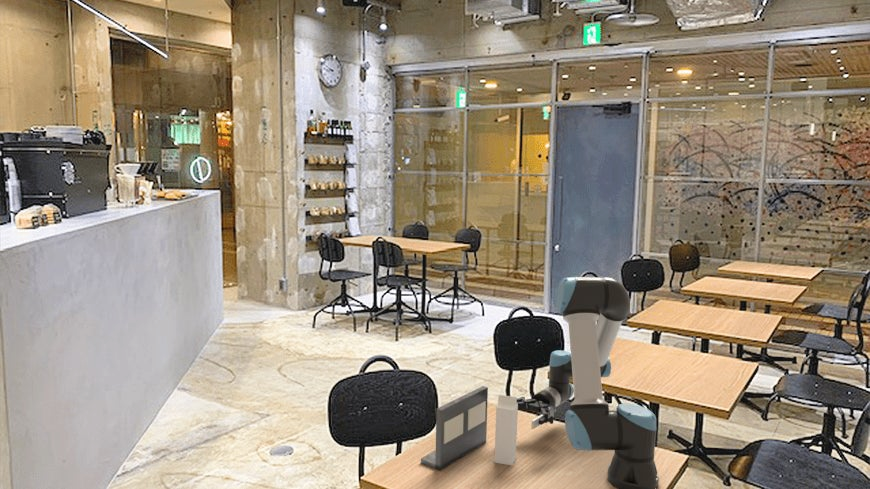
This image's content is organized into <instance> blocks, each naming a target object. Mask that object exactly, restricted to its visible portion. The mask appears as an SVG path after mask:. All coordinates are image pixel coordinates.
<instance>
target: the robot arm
mask: <svg viewBox="0 0 870 489" xmlns="http://www.w3.org/2000/svg"><path fill="white" fill-rule="evenodd" d="M555 303H556V306H555V307H556V310H557V312H558V313H559V314H562V318H563V320H564V321H565V322H566V323H567V324H568V332H569V333H568V334H569V344H570V346H569V347H570V352H569V351H566V350H561V349H560V350H554V351H552V352H551V353H550V355H549V356H550V357H549V363H548V364H549V369H548V370H549V374H548V375H549V378H548V386H547V387H545V388H544V389H542V390H540V391H539V392H537V393H535V394H534V395H533V396H532V398H530V399H526V398H525V396H521V397H516V398H517V403H518V411H524V412H528V411H529V412H530V411H531V412H534V413H538V414H539V415H538V416H537V417H535V418H533V419H532V420H531V430H534V429H536V428H538V427H539V426H542V425H543V424H548V423H549V424H551V425H553V424H554V419H555V418H554V417H555V415H556V414H557V407H559V406H561V405H562V404H564V403H566V402H568V401H569V400H570V399H571V398H572V397H573V396H574V397H573V401H572V402H571V403H570V405H569V409H568V410H567V411H565V414H564V426H565V431H566V435H567V438H568V441H569V443H570V444H571V446H572V448H574V449H575V450H577V451H587V452H592V451H614V453H613V456H612V458H611V462H610V464H609V465H608V467H607V473H606V474H607V475H606V477H607V480H608V482H609V483H611V484H612V486H614V487H616V488H618V489H655V488H656V487H657V486H658V487H659V483H660V482H659V480H660V477H659V474H658V469H657V466H656V463H655V450H656V449H655V448H656V437H657V417H656V415H655V414H654V413H653V411H651V410H650V409H649V408H646V407H644V406H643V405H642V406H641V405H638V404H635V403H627V402H621V403H619V404H617V406H616V410H610V408H609V407H610V406H609V403H608V402H607V400H605V399H604V398H603V397H604V396H603V388H602V387H603V386H602V378H608V377H610V375H611V373H612V372H611V371H612V364H611V360H610V359H609V357H610V355H611V352H612V349H613V346H614V344H615V341H616V338H617V336H618V333H619V332H620V328H621V325H622V323H623V321H625V320H626V319H627V318H628V316H629V313H630V310H631V299H630V296H629V293H628V291H627V289H626V287H624V285H623V284H622V283H621V282H620V281H618V280H616V279H615V278H612V277H607V276H605V277H604V276H602V277H601V276H600V277H599V276H598V277H597V276H596V277H595V276H594V277H593V276H571V277H568V276H567V277H563V278H562V279H561V280H560V282H559V284H558V288H557V292H556V302H555ZM570 379H572V382H573V384H572V383H571V382H570ZM548 413H549V414H548ZM658 487H657V488H658ZM657 488H656V489H657Z"/></svg>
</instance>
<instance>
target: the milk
mask: <svg viewBox="0 0 870 489" xmlns="http://www.w3.org/2000/svg"><path fill="white" fill-rule="evenodd" d="M497 398H498V400H497V404H496V408H495V434H494V435H495V437H494V463H495V464H500V465H506V466H512V467H513V465H514V464H515V460H516V458H517V442H518V437H517V435H518V413H519V412H518V411H519V410H518V403H517V398H518V397H517V396H510V395H502V394H498V397H497Z"/></svg>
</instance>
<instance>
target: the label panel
mask: <svg viewBox="0 0 870 489" xmlns="http://www.w3.org/2000/svg"><path fill="white" fill-rule="evenodd" d="M488 391H489V388H488V386H485V385H482V386H481V387H478V388H476V389H474V390H471V391H470V392H468V393H466V394H464V395H462V396H459V397H458V398H456V399H453V400H452V401H450V402H448V403H445V404H443V405H442V406H441V405H440V406H439V407H437V408H436V410H435V412H436V413H435V414H436V418H435V420H436V421H435V450H433V451H432V452H430V453H428V454H426V455H424V456H423V457H421V458H420V464H422V465H425V466H427V467H430V468H432V469H435V470H437V471H442V470H444V469H446V468H447V467H449V466H450V465H452V464H454V463H456V462H457V461H458V460H460V459H462V458H464V457H465V456H467V455H469V454H470V453H471V452H473V451H475V450H477V449H478V448H479V447H482V446H483V445H485V444H486V443H487V431H488V430H487V427H488V426H487V425H488V397H489V396H488V395H489V393H488Z"/></svg>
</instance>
